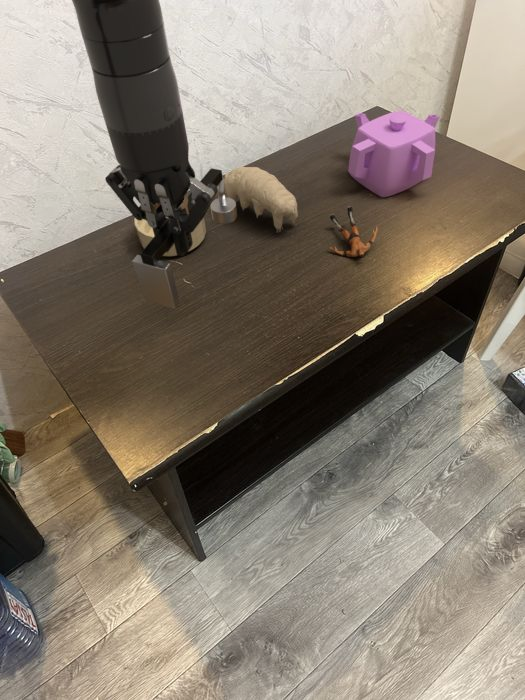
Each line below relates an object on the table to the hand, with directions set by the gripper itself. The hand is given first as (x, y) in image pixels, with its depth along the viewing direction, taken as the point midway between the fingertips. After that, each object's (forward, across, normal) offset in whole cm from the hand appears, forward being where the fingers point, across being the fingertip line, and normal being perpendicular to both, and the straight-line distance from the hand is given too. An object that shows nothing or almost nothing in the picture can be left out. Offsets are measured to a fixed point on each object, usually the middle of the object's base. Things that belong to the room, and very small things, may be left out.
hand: (175, 249), depth 62 cm
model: (+21, +5, -35) cm, 41 cm away
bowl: (+21, +18, -24) cm, 36 cm away
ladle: (+4, 0, -4) cm, 6 cm away
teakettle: (+21, -16, -57) cm, 63 cm away
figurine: (+21, -14, -33) cm, 41 cm away
